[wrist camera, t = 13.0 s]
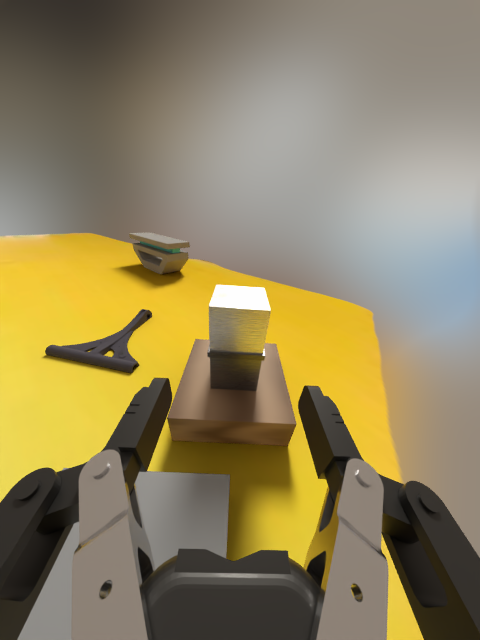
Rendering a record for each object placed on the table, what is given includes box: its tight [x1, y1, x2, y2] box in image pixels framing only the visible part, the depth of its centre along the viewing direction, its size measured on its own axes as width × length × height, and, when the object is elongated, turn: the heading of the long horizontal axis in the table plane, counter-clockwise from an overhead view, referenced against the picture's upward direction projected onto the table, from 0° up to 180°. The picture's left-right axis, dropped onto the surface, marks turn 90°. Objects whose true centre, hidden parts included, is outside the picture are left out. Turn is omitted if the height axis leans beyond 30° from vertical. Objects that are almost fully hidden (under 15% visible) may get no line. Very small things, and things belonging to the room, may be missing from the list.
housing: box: [207, 285, 271, 391], centre depth 19 cm, size 5×5×10 cm
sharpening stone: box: [129, 233, 190, 274], centre depth 66 cm, size 25×8×11 cm, turn 50°
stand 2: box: [167, 339, 296, 446], centre depth 23 cm, size 12×12×4 cm
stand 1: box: [17, 468, 230, 640], centre depth 9 cm, size 12×12×4 cm
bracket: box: [45, 309, 152, 373], centre depth 33 cm, size 14×15×3 cm
